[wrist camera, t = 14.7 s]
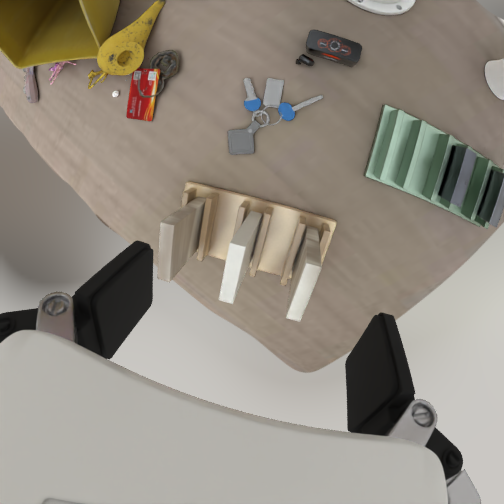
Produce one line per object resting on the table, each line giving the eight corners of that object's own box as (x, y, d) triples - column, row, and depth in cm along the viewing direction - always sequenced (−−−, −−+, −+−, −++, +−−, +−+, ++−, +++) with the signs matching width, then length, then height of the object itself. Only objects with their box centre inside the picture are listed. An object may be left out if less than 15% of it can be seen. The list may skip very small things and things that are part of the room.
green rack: (363, 175, 32) (376, 185, 26) (382, 104, 28) (400, 99, 21) (477, 225, 31) (500, 242, 24) (496, 166, 26) (523, 175, 20)
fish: (26, 66, 32) (35, 51, 29) (34, 110, 36) (43, 95, 33) (17, 67, 29) (26, 51, 27) (24, 112, 33) (32, 96, 31)
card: (161, 69, 29) (134, 68, 30) (159, 69, 29) (132, 68, 29) (152, 121, 34) (127, 117, 34) (151, 121, 33) (125, 117, 34)
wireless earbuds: (303, 35, 26) (303, 26, 23) (358, 52, 25) (362, 44, 22) (295, 64, 28) (294, 58, 25) (350, 81, 27) (354, 76, 24)
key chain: (240, 164, 34) (238, 165, 34) (200, 119, 33) (198, 119, 32) (324, 98, 29) (324, 97, 28) (280, 52, 27) (280, 50, 26)
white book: (240, 256, 39) (218, 299, 29) (251, 210, 36) (229, 242, 26) (251, 259, 39) (232, 304, 29) (262, 213, 36) (245, 247, 26)
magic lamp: (164, -13, 19) (141, -12, 23) (74, 94, 25) (70, 74, 29) (196, 14, 25) (168, 8, 29) (112, 111, 31) (101, 88, 35)
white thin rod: (111, 97, 32) (116, 99, 33) (145, 57, 29) (151, 60, 30) (109, 93, 32) (115, 95, 33) (143, 54, 29) (148, 57, 30)
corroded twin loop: (134, 89, 32) (130, 88, 31) (165, 45, 28) (162, 43, 28) (156, 105, 33) (152, 104, 32) (189, 60, 29) (186, 58, 28)
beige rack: (180, 243, 41) (141, 283, 31) (188, 181, 37) (143, 203, 26) (313, 282, 40) (314, 336, 29) (336, 220, 35) (348, 259, 25)
